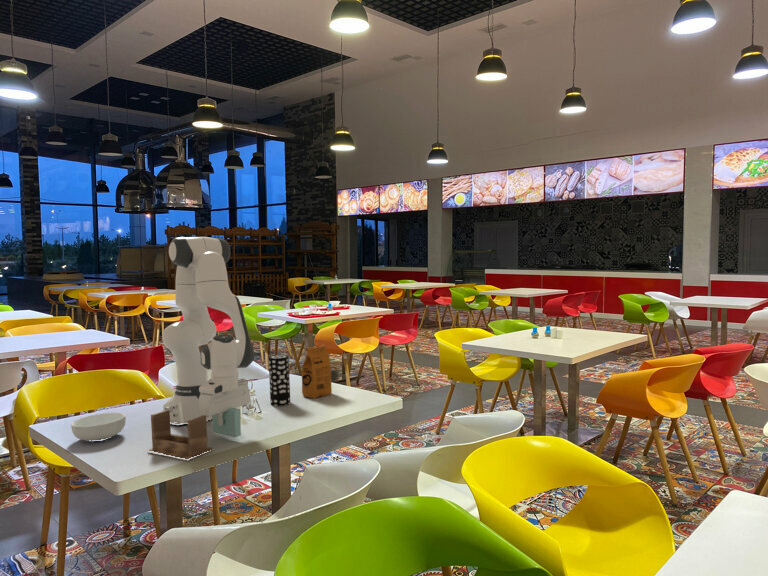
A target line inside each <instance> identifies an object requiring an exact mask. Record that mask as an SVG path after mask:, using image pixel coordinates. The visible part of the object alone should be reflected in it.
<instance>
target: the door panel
mask: <svg viewBox="0 0 768 576" xmlns="http://www.w3.org/2000/svg"><path fill="white" fill-rule="evenodd" d="M222 418H223V419H225V424H224V425H222V426H220V425H218V419H217V418H216V416H215V415H214V416H212V420H211V429H212V433H214V434H219V435H221V436H222V435H223V436H227V437H232V438H238V437H241V436H242V427H241V426H242V425H241V423H242V422H241V409H240V408H230V409H227V411H226V412H223V415H222Z"/></svg>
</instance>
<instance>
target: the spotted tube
mask: <svg viewBox="0 0 768 576" xmlns="http://www.w3.org/2000/svg"><path fill="white" fill-rule="evenodd" d="M289 358H290V357H289V355H287V354H286V355H285V354H278V355H271V356H269V357H268V373H269V375H268V376H269V396H270V397H269V398H270V406H273V407H282V406H283V407H284V406H288V405H290V404H291V386H290V385H291V384H290V383H291V382H290V361H289V360H290V359H289Z"/></svg>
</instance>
